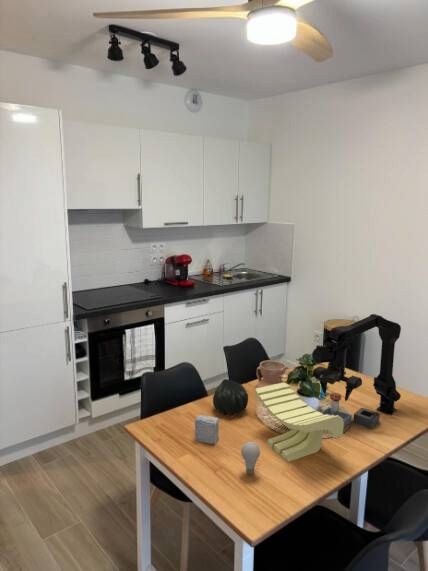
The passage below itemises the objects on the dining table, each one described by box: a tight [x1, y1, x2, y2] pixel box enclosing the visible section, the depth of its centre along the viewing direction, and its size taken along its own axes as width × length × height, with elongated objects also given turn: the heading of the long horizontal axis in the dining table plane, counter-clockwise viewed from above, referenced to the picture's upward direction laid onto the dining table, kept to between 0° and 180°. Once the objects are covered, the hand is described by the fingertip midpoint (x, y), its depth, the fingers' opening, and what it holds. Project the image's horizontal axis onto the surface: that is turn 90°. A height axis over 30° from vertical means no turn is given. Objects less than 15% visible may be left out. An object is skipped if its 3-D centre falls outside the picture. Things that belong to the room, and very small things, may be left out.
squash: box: [212, 378, 249, 417], centre depth 179 cm, size 14×15×15 cm
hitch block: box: [352, 407, 381, 430], centre depth 171 cm, size 8×8×4 cm
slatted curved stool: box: [254, 382, 344, 462], centre depth 153 cm, size 30×16×18 cm, turn 27°
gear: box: [319, 385, 330, 400], centre depth 196 cm, size 11×6×10 cm
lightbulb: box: [240, 441, 261, 475], centre depth 137 cm, size 6×6×11 cm
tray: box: [320, 406, 353, 429], centre depth 172 cm, size 10×10×3 cm
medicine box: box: [194, 414, 220, 446], centre depth 157 cm, size 8×4×9 cm, turn 71°
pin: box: [329, 392, 342, 416], centre depth 171 cm, size 4×4×11 cm
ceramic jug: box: [256, 359, 288, 388], centre depth 197 cm, size 18×14×14 cm
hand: (335, 397), depth 170 cm, fingers open, 9 cm apart
